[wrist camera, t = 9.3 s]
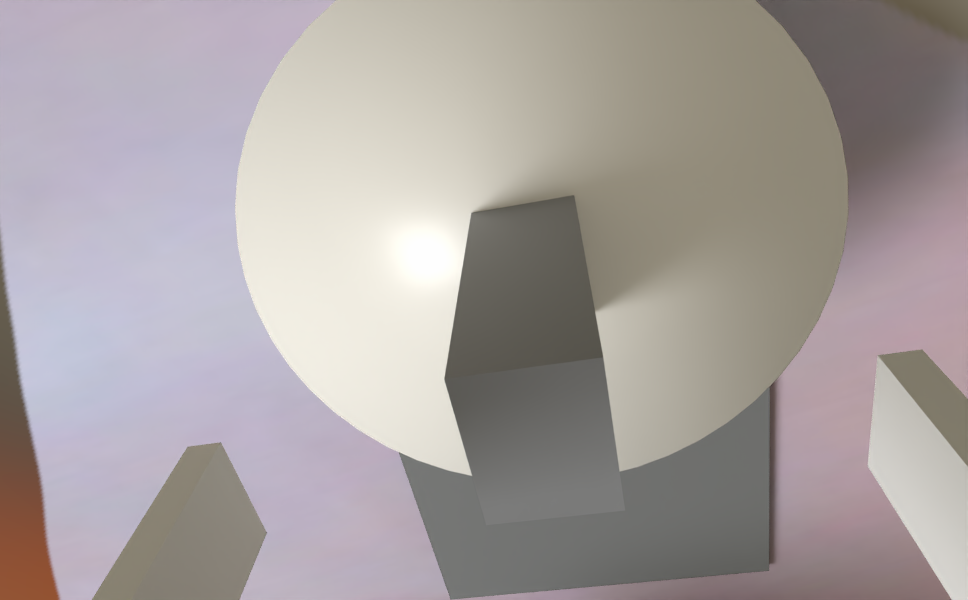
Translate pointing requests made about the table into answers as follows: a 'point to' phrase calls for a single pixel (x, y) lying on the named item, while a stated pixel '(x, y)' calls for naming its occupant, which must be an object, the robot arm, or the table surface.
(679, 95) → the lid
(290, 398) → the table surface
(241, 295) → the table surface
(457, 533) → the mat
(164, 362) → the table surface
